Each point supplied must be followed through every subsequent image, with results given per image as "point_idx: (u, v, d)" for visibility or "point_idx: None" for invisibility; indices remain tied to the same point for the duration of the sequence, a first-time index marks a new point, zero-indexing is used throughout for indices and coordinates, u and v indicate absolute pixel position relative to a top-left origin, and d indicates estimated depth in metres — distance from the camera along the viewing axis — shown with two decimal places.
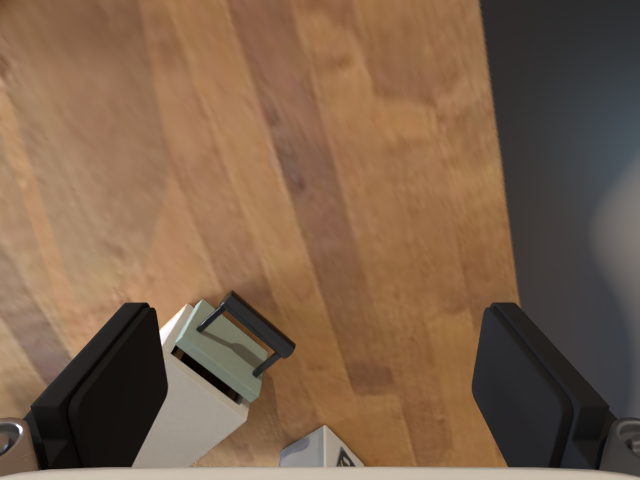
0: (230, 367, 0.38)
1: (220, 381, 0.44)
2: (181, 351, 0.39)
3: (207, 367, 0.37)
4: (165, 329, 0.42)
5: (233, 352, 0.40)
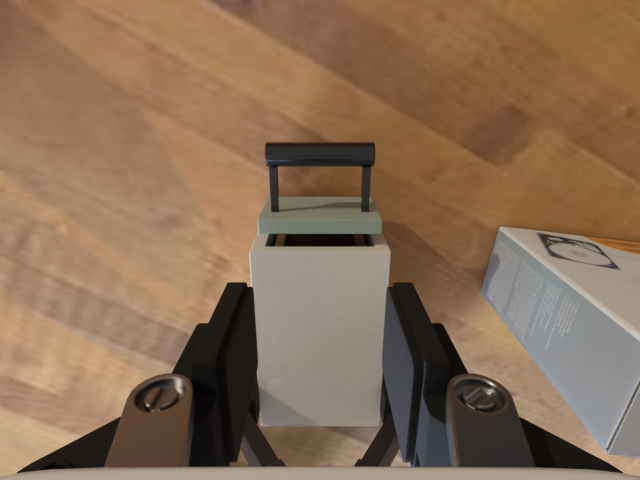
0: (330, 216, 0.31)
1: None
2: (279, 244, 0.33)
3: (308, 231, 0.31)
4: None
5: (327, 209, 0.33)
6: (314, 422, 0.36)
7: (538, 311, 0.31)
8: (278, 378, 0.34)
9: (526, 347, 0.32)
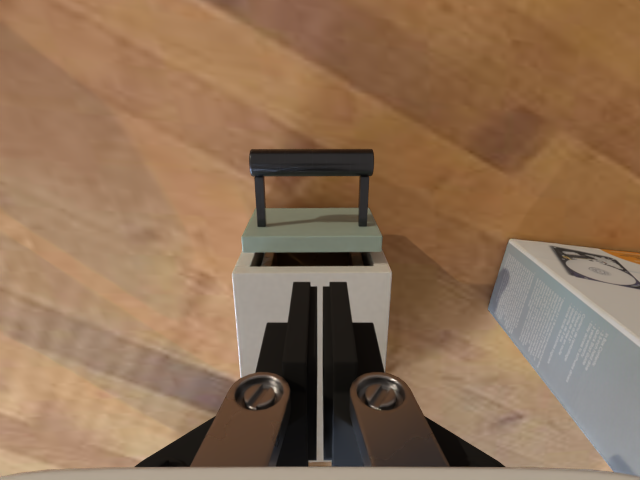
0: (324, 232, 0.27)
1: None
2: (267, 263, 0.29)
3: (298, 249, 0.27)
4: None
5: (320, 223, 0.29)
6: None
7: (556, 337, 0.27)
8: None
9: (542, 377, 0.28)
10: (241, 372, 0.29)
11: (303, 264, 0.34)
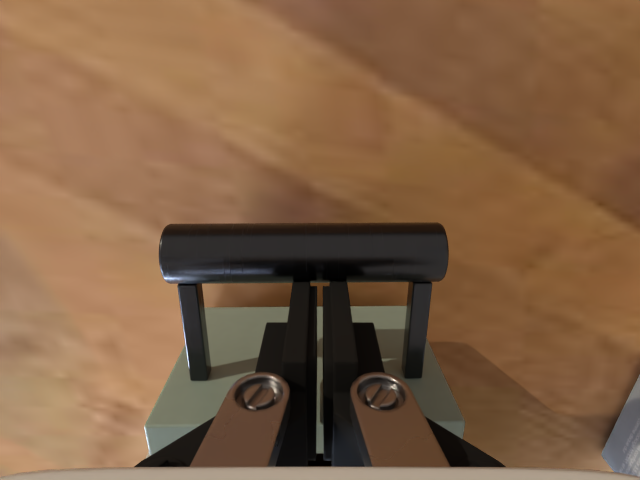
0: None
1: None
2: None
3: None
4: None
5: None
6: None
7: None
8: None
9: None
10: None
11: None
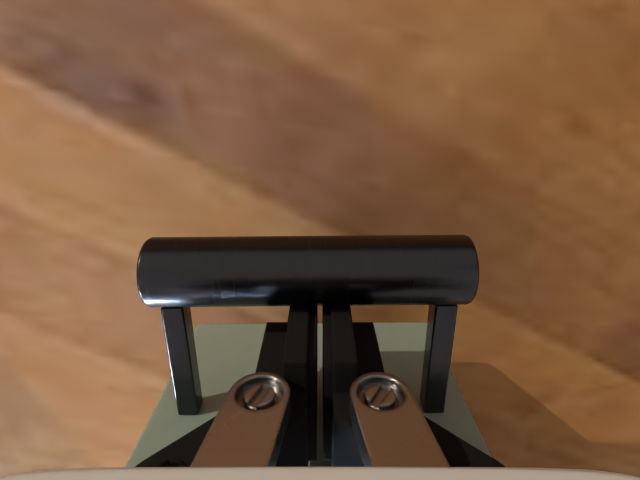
0: None
1: None
2: None
3: None
4: None
5: None
6: None
7: None
8: None
9: None
10: None
11: None
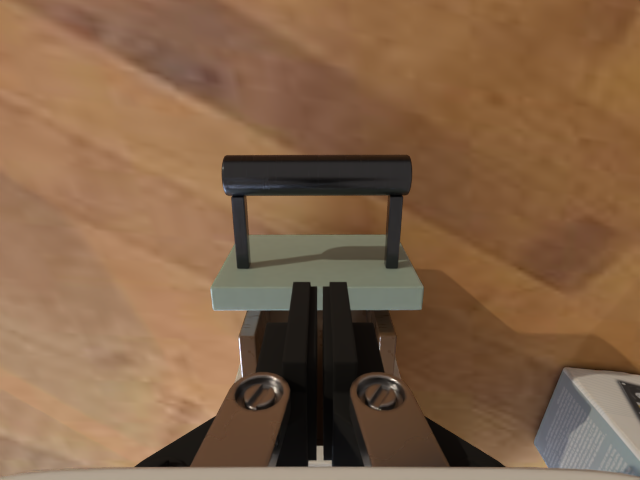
0: (335, 279, 0.18)
1: None
2: (252, 319, 0.20)
3: None
4: None
5: (330, 261, 0.20)
6: None
7: None
8: None
9: None
10: None
11: None
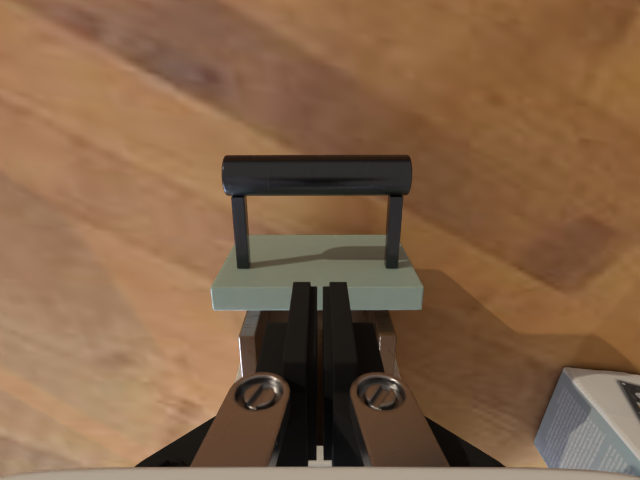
0: (335, 279, 0.18)
1: None
2: (252, 319, 0.20)
3: None
4: None
5: (329, 261, 0.20)
6: None
7: None
8: None
9: None
10: None
11: None
